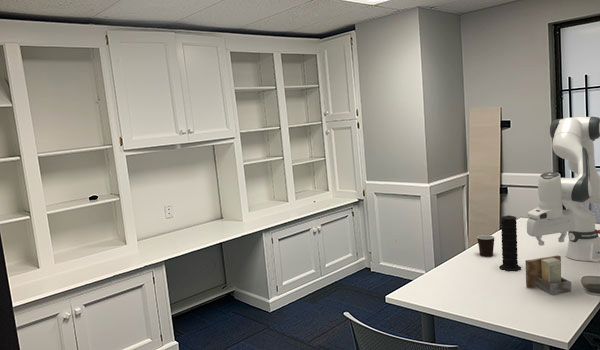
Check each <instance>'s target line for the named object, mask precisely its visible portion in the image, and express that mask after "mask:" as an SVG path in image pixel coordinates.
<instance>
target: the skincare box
mask: <svg viewBox="0 0 600 350" xmlns="http://www.w3.org/2000/svg"><path fill="white" fill-rule="evenodd" d="M541 266H542V279H543V280H546V281H548V282H550V283H552V284H554V283H560V282H561V277H562V263H561V264H560V260H558V259H556V258H549V259H544V260H541Z"/></svg>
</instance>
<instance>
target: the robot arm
mask: <svg viewBox="0 0 600 350" xmlns="http://www.w3.org/2000/svg"><path fill="white" fill-rule="evenodd" d="M549 125H550V126H549V135H550V137H551V139H552V146H551V147H552V150H553V152H554V154H555V155H556V156H558V157H559V158H561V159H563V160H566V161H567V167H568V169H569V170H570V171H571V172H573V174H576V175H578V176H576V177H561V175H560V173H558V172H555V171H554V172H552V171H549V172H548V171H547V172H544V173H541V174H540V175H539V179H538V184H537V185H538V187H537V195H538V199H539V201H538V206H537V207H535V208H534V209H532V210H529V211H528V212H527V217H528V218H527V221H526V234H528V236H530V237H535V239H536V240H537V242H538V246H541V247H542V246H545V241H544V240H542V238H543V236H547V235H555V234H559V233H560V236H559V237H557V239H558V240H557V241H558V242H559V243H564V242H565V239H566V236H567V234H568V236H567V237H568V244H567V251H566V254H565V257H567V258H569V259H571V260H575V261H582V262H583V261H584V262H593V263H599V262H600V236H599V234H600V229H596V216H595V214H594V212H593V211H592V210H590V209H588V208H586V207H585V206H584V204H585V203H587V204H600V175H599V172H598V171H597V167H596V163H595V162H596V161H595V160H596V159H595V145H594V141H596V140H598V139H600V117H598V116H575V117H565V118H558V119H554V120H553V121H552V122H550V124H549ZM583 203H584V204H583ZM563 206H564V208H565V209H564V208H563Z"/></svg>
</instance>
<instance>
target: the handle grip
mask: <svg viewBox="0 0 600 350" xmlns="http://www.w3.org/2000/svg"><path fill="white" fill-rule="evenodd" d="M500 219H501V221H500V224H501V225H500V226H501V228H500V230H501V257H502V264H500V265H499V266H498V268H499V270H501V271H503V270H505V271H504V272H510V271H515V272H519V271H518V270H520V271H521V270H522V269H521V268H522V267H521V266H520V265H519V264H518V262H519V261H518V255H519V254H518V234H517V233H518V232H517V231H518V229H517V227H518V226H517V216H514V215H513V216H512V215H510V214H509V215H502V216H500Z"/></svg>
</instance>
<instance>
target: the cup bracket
mask: <svg viewBox="0 0 600 350" xmlns="http://www.w3.org/2000/svg"><path fill="white" fill-rule="evenodd" d="M549 258H556V259H558V260H560V264H561V265H562V256H561V255H558V254H557V255H552V256H547V257H539V258H533V259H527V260H525V286H526V288H527V289H530V288H537V289H539V290H540V291H542V292H545V293H547V294H548V295H550V296H556V295H561V294H562V295H563V294H567V293H572V281H570V280H568V279H567V278H564V277H562V276H561V282H560V283H554V284H552V283H550V282H548V281H546V280H543V279H542V266H541V260H544V259H549Z"/></svg>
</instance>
